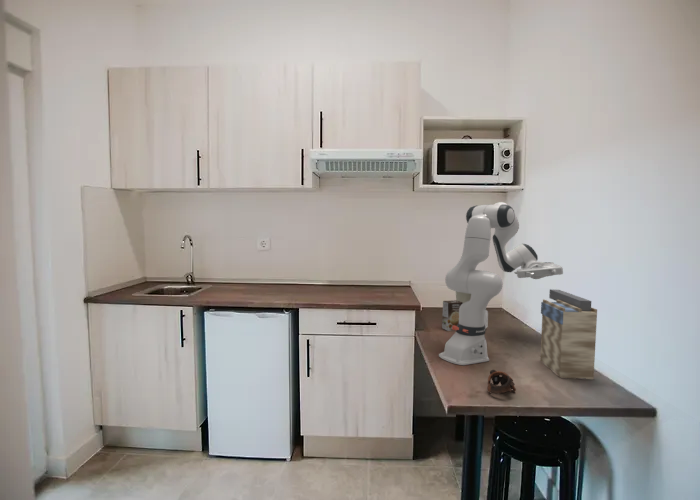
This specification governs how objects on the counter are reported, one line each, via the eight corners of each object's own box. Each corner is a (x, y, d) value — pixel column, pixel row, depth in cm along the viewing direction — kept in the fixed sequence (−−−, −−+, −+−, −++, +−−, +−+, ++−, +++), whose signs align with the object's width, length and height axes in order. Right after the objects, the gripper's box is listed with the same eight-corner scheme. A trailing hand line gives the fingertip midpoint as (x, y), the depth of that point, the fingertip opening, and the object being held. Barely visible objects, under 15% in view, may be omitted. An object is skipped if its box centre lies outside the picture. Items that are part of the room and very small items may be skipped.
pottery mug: (523, 397, 124) (518, 380, 121) (499, 410, 124) (494, 393, 121) (502, 375, 135) (497, 359, 132) (480, 387, 135) (475, 371, 132)
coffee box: (448, 331, 202) (448, 303, 201) (441, 328, 208) (442, 300, 207) (462, 330, 205) (462, 302, 204) (455, 327, 211) (456, 299, 210)
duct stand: (538, 360, 158) (541, 299, 156) (569, 362, 157) (572, 300, 155) (558, 377, 140) (561, 308, 138) (593, 379, 139) (597, 309, 137)
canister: (488, 317, 235) (489, 285, 234) (465, 319, 229) (466, 286, 227) (470, 311, 252) (471, 281, 251) (448, 313, 246) (449, 282, 244)
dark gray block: (590, 311, 139) (591, 301, 139) (580, 311, 140) (580, 300, 139) (558, 298, 165) (558, 289, 165) (549, 298, 166) (549, 289, 165)
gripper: (513, 266, 186) (518, 269, 173) (556, 262, 181) (566, 265, 168) (514, 278, 187) (520, 282, 173) (557, 274, 182) (567, 278, 168)
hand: (543, 274), depth 171 cm, fingers open, 8 cm apart
